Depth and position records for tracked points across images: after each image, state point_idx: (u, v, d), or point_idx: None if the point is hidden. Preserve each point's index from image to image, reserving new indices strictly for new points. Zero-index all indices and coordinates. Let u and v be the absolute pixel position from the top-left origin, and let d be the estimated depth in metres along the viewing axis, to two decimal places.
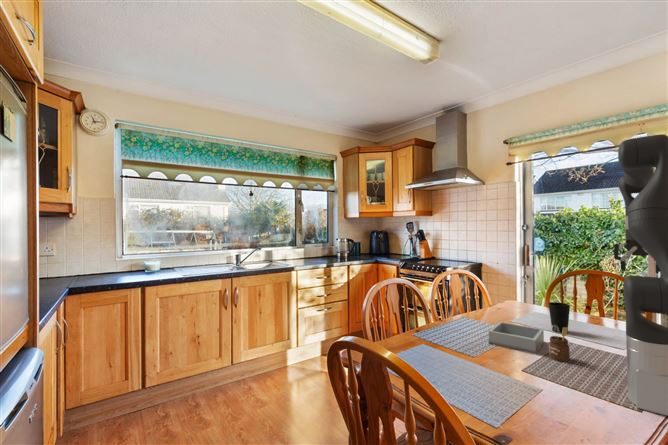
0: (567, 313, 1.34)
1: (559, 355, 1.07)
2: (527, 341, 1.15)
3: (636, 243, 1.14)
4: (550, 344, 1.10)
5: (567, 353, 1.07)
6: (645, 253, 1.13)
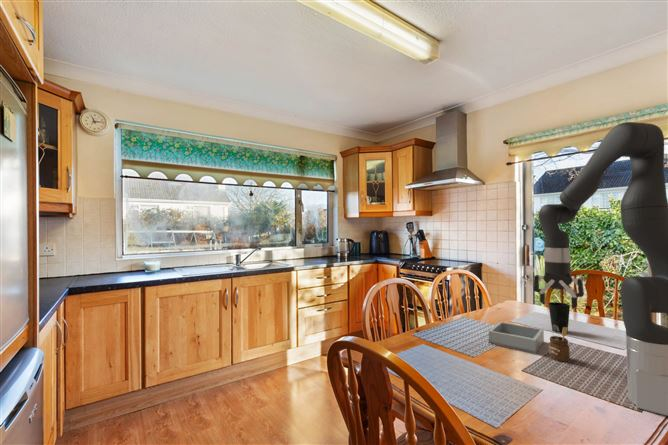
0: (567, 313, 1.34)
1: (559, 355, 1.07)
2: (527, 341, 1.15)
3: (554, 276, 1.10)
4: (550, 344, 1.10)
5: (567, 353, 1.07)
6: (562, 287, 1.08)
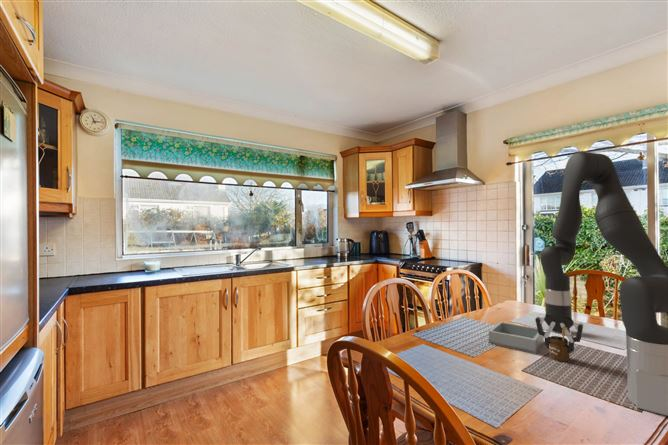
0: None
1: (559, 355, 1.07)
2: (527, 341, 1.15)
3: (555, 318, 1.10)
4: (550, 344, 1.10)
5: (567, 353, 1.07)
6: None
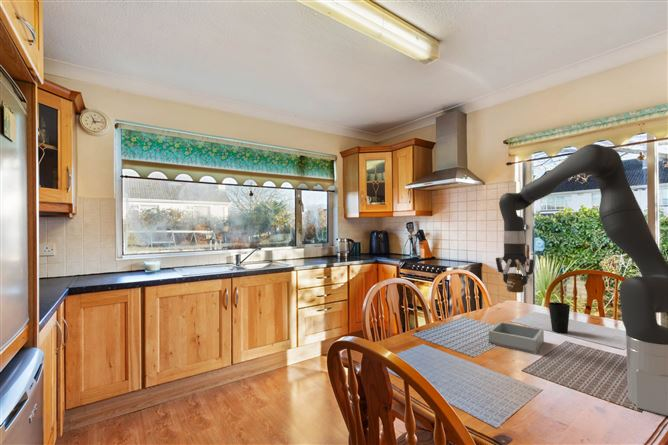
0: (567, 313, 1.34)
1: (514, 287, 1.23)
2: (527, 341, 1.15)
3: (511, 256, 1.25)
4: (507, 279, 1.26)
5: (521, 285, 1.23)
6: (518, 265, 1.24)
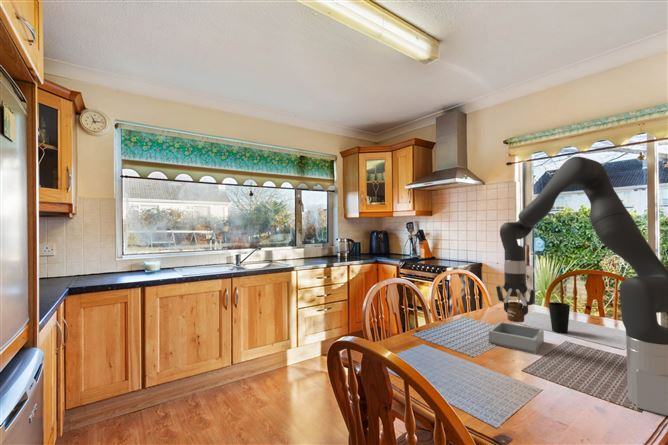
0: (567, 313, 1.34)
1: (515, 317, 1.23)
2: (527, 341, 1.15)
3: (512, 285, 1.25)
4: (508, 308, 1.26)
5: (522, 315, 1.23)
6: None
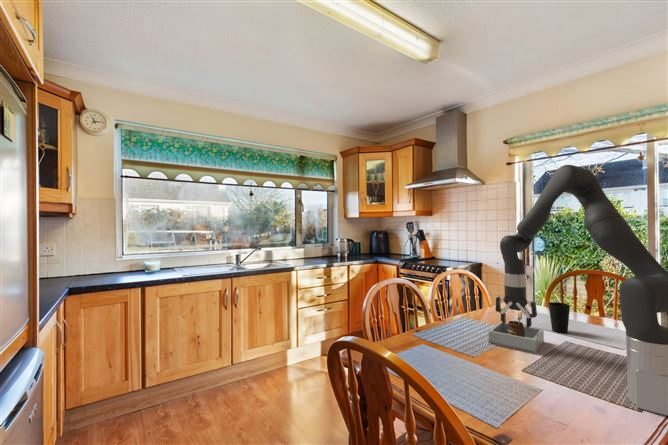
0: (567, 313, 1.34)
1: None
2: (527, 341, 1.15)
3: (512, 298, 1.25)
4: (508, 327, 1.26)
5: (522, 335, 1.22)
6: (518, 308, 1.23)
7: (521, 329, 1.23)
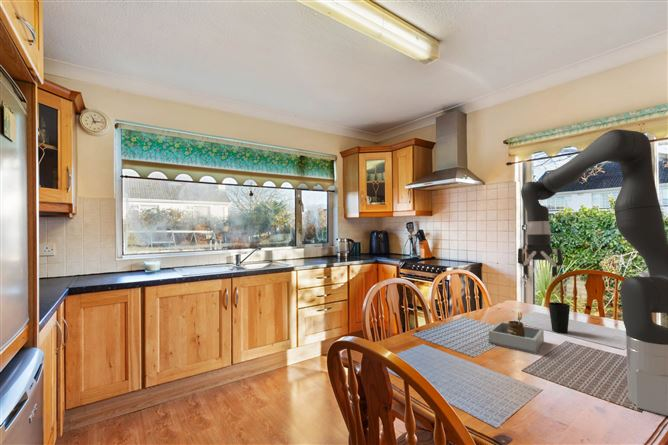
0: (567, 313, 1.34)
1: None
2: (527, 341, 1.15)
3: (536, 248, 1.18)
4: (508, 327, 1.26)
5: (522, 335, 1.22)
6: (543, 257, 1.17)
7: (521, 329, 1.23)
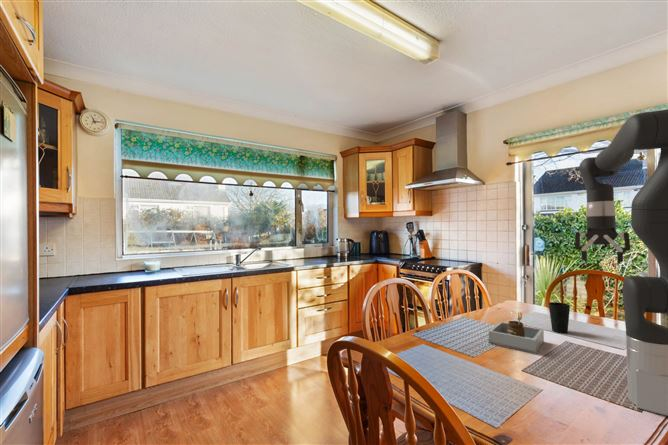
0: (567, 313, 1.34)
1: None
2: (527, 341, 1.15)
3: (597, 231, 1.06)
4: (508, 327, 1.26)
5: (522, 335, 1.22)
6: (606, 242, 1.04)
7: (521, 329, 1.23)
